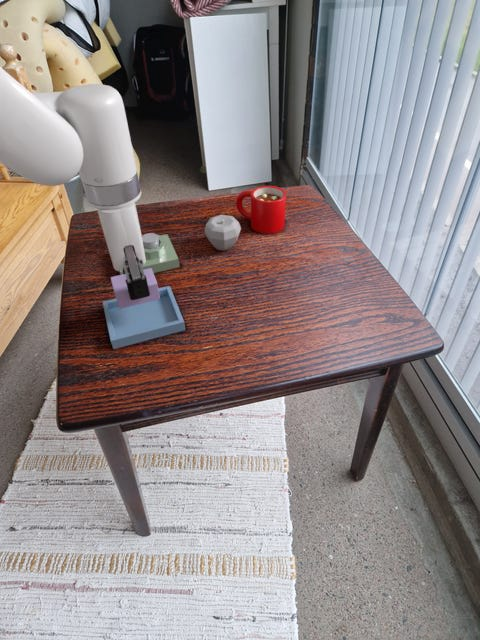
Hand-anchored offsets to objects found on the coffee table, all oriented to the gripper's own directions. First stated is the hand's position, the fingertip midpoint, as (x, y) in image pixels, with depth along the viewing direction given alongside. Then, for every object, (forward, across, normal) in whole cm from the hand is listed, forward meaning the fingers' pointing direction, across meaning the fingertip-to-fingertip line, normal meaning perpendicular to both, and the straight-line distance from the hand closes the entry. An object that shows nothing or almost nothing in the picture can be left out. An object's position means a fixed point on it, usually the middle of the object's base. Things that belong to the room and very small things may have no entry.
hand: (137, 286), depth 71 cm
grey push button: (+4, -18, +5) cm, 19 cm away
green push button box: (+8, -18, +4) cm, 20 cm away
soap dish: (+8, 0, 0) cm, 8 cm away
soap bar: (+2, 0, 0) cm, 2 cm away
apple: (+8, -17, +21) cm, 28 cm away
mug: (+8, -23, +32) cm, 40 cm away
